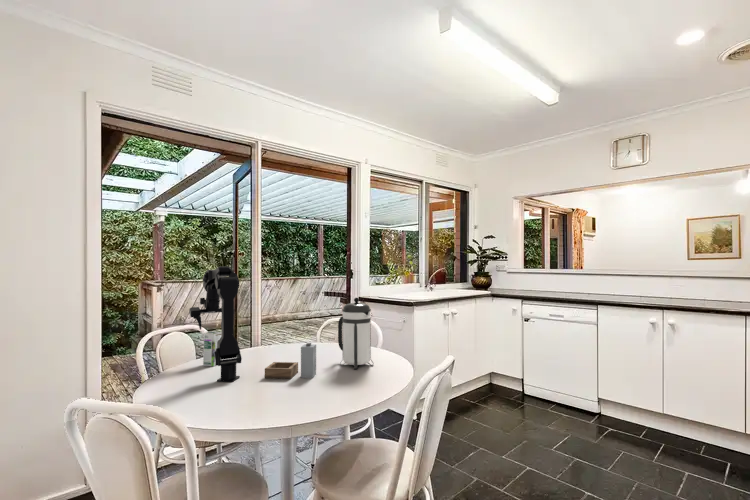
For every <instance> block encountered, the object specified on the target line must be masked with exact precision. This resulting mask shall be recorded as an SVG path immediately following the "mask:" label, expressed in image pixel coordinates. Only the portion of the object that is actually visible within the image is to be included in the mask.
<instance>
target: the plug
mask: <svg viewBox="0 0 750 500" xmlns="http://www.w3.org/2000/svg"><path fill="white" fill-rule="evenodd" d="M316 375H317V344H312V342H306V344H303V345H302V346H301V347H300V378H303V379H305V378H306V379H314V378H315V377H316Z"/></svg>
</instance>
